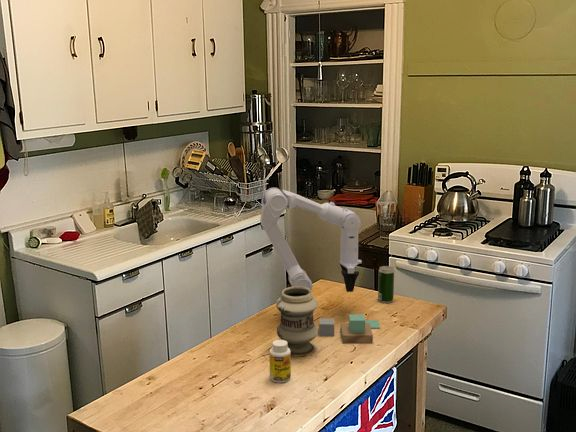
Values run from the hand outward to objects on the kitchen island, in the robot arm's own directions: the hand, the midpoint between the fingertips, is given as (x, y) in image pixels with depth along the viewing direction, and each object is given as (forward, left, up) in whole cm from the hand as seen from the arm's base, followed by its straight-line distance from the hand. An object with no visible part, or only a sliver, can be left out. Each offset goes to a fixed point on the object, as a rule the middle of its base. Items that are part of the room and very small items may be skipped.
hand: (348, 287), depth 204 cm
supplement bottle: (-22, -44, -10) cm, 50 cm away
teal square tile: (+6, -9, -9) cm, 14 cm away
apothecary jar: (-17, -26, -10) cm, 33 cm away
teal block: (+1, -18, -7) cm, 20 cm away
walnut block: (+1, -18, -10) cm, 20 cm away
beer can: (+14, +12, -10) cm, 21 cm away
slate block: (-8, -15, -10) cm, 20 cm away
